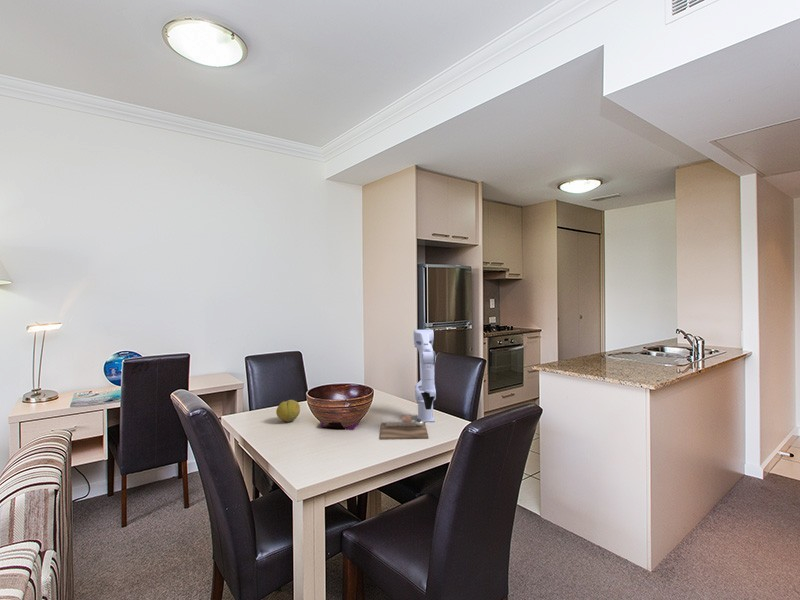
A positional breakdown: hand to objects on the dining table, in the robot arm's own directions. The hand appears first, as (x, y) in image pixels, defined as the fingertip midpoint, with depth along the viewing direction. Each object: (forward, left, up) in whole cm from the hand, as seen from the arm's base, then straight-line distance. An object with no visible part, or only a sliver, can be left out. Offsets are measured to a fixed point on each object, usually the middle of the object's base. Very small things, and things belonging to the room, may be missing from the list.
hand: (428, 409), depth 183 cm
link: (-3, -10, -8) cm, 14 cm away
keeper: (-4, -7, -8) cm, 12 cm away
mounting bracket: (-8, -40, -10) cm, 42 cm away
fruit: (-17, -66, -10) cm, 69 cm away
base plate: (+1, -11, -9) cm, 14 cm away
